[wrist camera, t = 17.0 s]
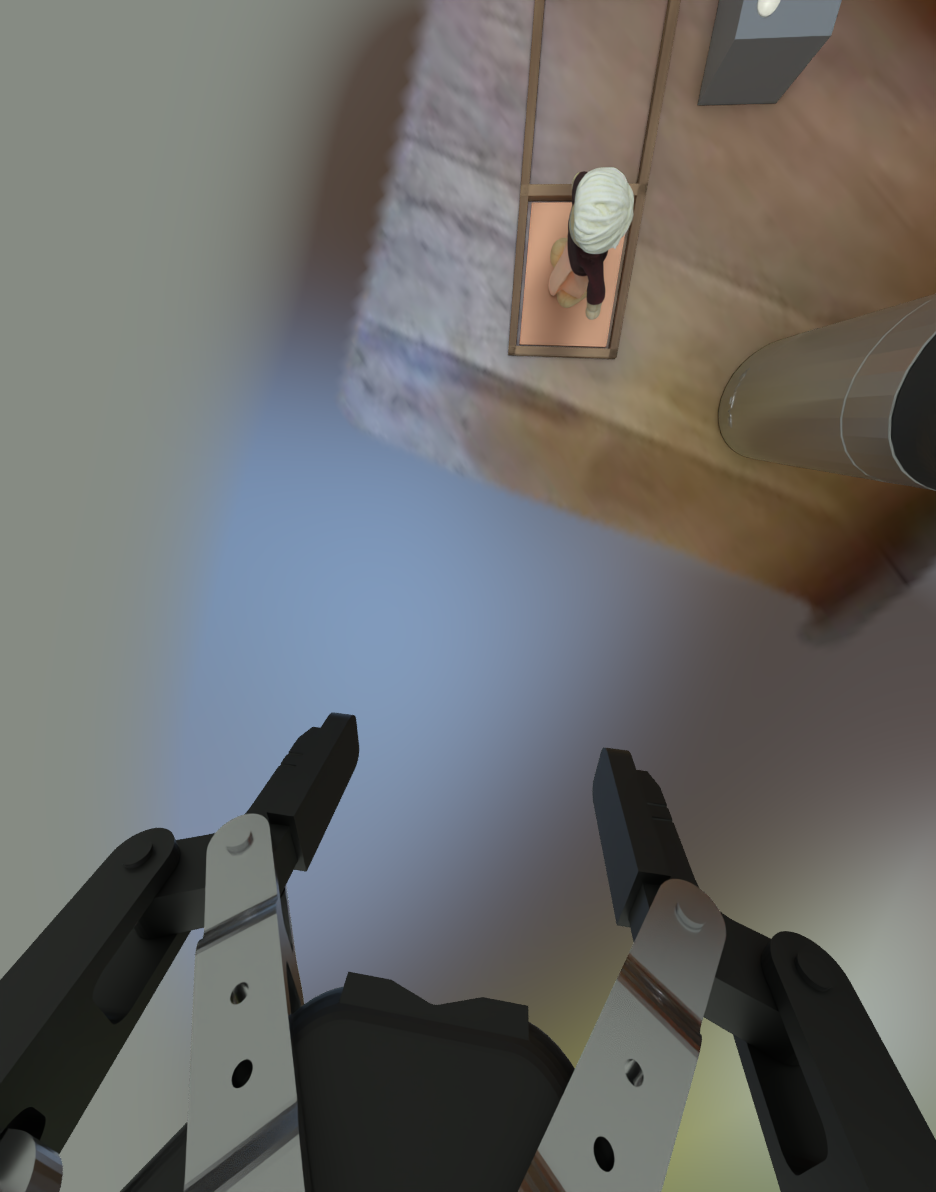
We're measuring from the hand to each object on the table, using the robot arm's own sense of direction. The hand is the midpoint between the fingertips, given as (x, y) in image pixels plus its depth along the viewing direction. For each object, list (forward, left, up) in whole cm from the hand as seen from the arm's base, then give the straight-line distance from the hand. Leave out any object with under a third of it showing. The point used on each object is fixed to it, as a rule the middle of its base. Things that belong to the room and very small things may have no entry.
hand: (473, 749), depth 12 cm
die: (-13, -32, -30) cm, 46 cm away
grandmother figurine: (-4, -20, -30) cm, 36 cm away
